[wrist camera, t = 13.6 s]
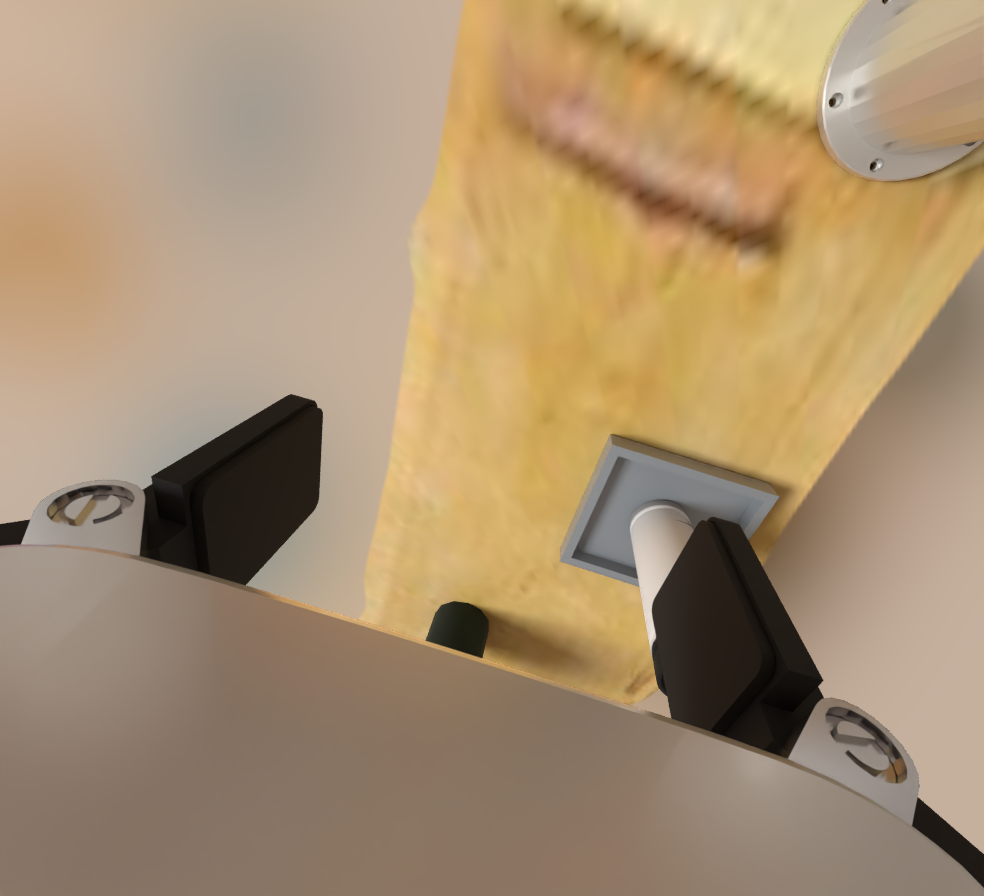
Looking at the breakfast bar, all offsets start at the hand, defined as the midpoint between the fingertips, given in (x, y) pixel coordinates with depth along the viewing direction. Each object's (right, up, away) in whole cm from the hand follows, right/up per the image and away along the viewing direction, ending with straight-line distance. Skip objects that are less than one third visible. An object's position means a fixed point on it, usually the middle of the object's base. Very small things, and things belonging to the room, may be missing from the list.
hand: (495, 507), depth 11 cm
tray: (+18, -6, +39) cm, 43 cm away
